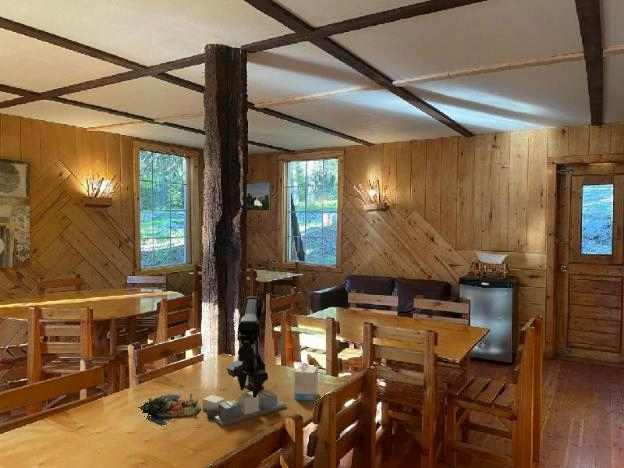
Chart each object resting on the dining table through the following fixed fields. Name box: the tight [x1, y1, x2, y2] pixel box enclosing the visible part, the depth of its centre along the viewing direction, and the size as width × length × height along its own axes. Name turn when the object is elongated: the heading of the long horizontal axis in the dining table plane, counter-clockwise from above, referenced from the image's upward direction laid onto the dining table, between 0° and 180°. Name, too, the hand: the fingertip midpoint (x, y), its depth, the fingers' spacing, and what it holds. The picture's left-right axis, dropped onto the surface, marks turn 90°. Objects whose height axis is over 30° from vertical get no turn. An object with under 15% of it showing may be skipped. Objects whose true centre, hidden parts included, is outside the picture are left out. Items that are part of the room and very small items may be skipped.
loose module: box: [237, 390, 259, 415], centre depth 172 cm, size 5×6×6 cm
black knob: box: [206, 407, 218, 420], centre depth 171 cm, size 4×4×3 cm
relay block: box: [202, 394, 226, 411], centre depth 178 cm, size 7×5×4 cm
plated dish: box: [138, 393, 202, 427], centre depth 177 cm, size 35×28×7 cm
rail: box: [214, 389, 287, 427], centre depth 173 cm, size 6×28×6 cm, turn 128°
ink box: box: [294, 361, 319, 402], centre depth 191 cm, size 9×8×13 cm
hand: (248, 393), depth 172 cm, fingers open, 9 cm apart
